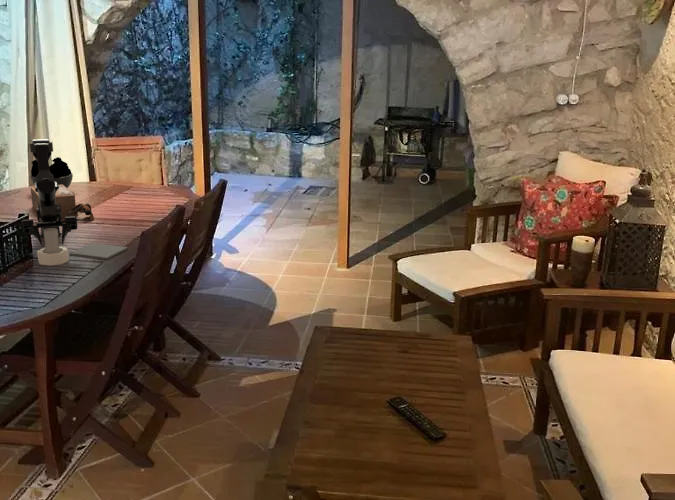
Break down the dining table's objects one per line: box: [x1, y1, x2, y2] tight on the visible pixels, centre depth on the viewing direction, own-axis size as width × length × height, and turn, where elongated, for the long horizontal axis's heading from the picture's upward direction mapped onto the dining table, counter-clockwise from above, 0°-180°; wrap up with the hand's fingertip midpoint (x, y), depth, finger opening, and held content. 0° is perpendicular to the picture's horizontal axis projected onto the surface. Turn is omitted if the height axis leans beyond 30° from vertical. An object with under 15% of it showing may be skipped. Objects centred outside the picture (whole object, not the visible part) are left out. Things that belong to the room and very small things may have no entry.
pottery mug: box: [69, 202, 95, 221], centre depth 306 cm, size 12×10×8 cm
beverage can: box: [43, 228, 60, 254], centre depth 248 cm, size 5×5×12 cm
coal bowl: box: [30, 157, 74, 189], centre depth 347 cm, size 20×20×19 cm
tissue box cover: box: [30, 184, 76, 219], centre depth 316 cm, size 26×14×10 cm, turn 33°
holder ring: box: [36, 246, 70, 267], centre depth 249 cm, size 10×10×4 cm
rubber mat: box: [69, 242, 128, 260], centre depth 261 cm, size 16×14×1 cm
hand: (52, 244), depth 246 cm, fingers open, 7 cm apart
